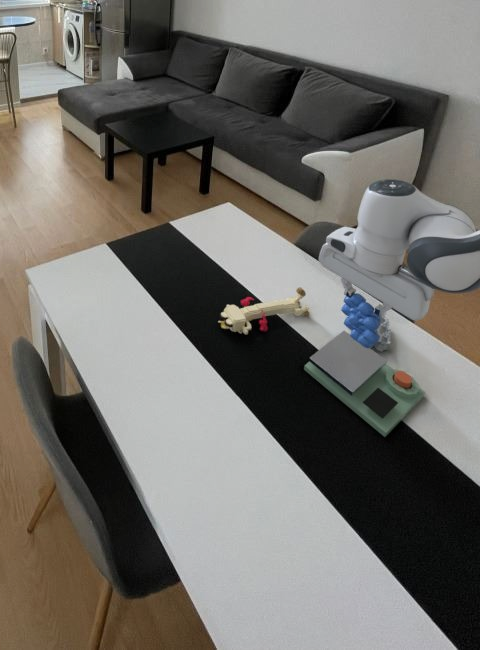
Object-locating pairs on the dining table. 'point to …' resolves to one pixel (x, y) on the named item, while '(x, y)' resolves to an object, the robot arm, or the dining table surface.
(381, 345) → the egg carton
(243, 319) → the beige blocky toy
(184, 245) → the dining table surface
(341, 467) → the dining table surface
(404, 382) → the button
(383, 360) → the scale pan
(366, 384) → the scale
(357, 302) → the grapes
